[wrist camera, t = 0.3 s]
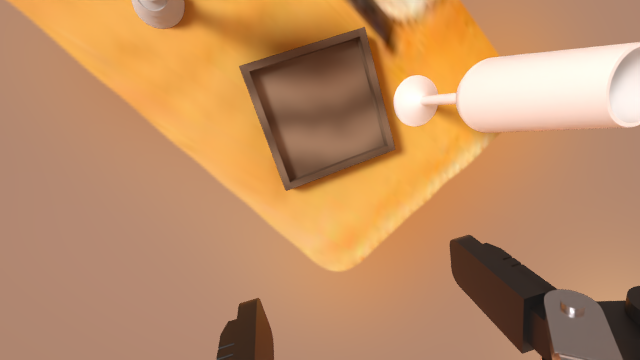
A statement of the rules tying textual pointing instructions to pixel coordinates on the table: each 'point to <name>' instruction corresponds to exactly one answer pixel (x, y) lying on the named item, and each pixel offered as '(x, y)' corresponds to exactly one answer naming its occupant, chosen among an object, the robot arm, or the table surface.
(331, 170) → the tray
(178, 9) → the chalice
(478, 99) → the champagne flute
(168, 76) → the table surface
